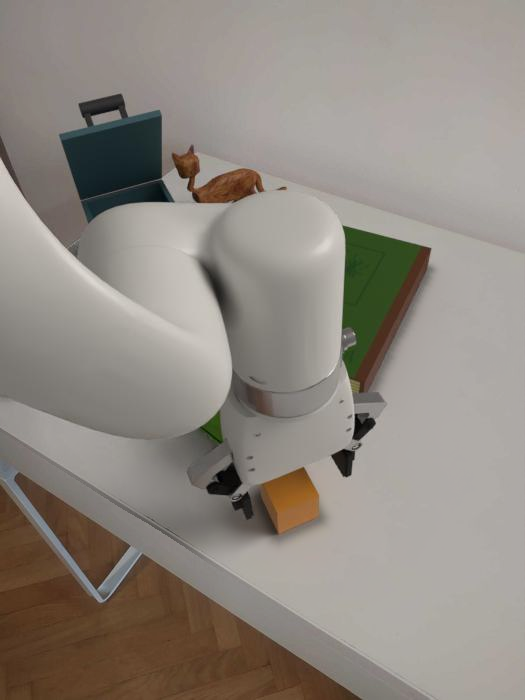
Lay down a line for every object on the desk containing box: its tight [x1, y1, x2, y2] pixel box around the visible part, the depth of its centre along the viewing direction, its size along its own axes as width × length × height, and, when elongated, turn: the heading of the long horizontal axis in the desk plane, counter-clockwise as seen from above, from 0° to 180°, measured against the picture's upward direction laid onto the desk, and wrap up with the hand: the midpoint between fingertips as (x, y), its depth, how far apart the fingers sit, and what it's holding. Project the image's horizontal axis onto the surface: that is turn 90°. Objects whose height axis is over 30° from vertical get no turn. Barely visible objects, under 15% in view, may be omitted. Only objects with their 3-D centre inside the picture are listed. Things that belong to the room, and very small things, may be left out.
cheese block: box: [259, 466, 320, 535], centre depth 54 cm, size 4×4×4 cm
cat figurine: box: [171, 144, 288, 203], centre depth 82 cm, size 18×7×14 cm, turn 127°
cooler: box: [80, 178, 176, 225], centre depth 77 cm, size 14×11×9 cm
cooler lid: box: [58, 93, 163, 201], centre depth 71 cm, size 15×11×5 cm
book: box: [342, 224, 433, 393], centre depth 72 cm, size 25×19×4 cm
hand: (292, 484), depth 52 cm, fingers open, 9 cm apart
